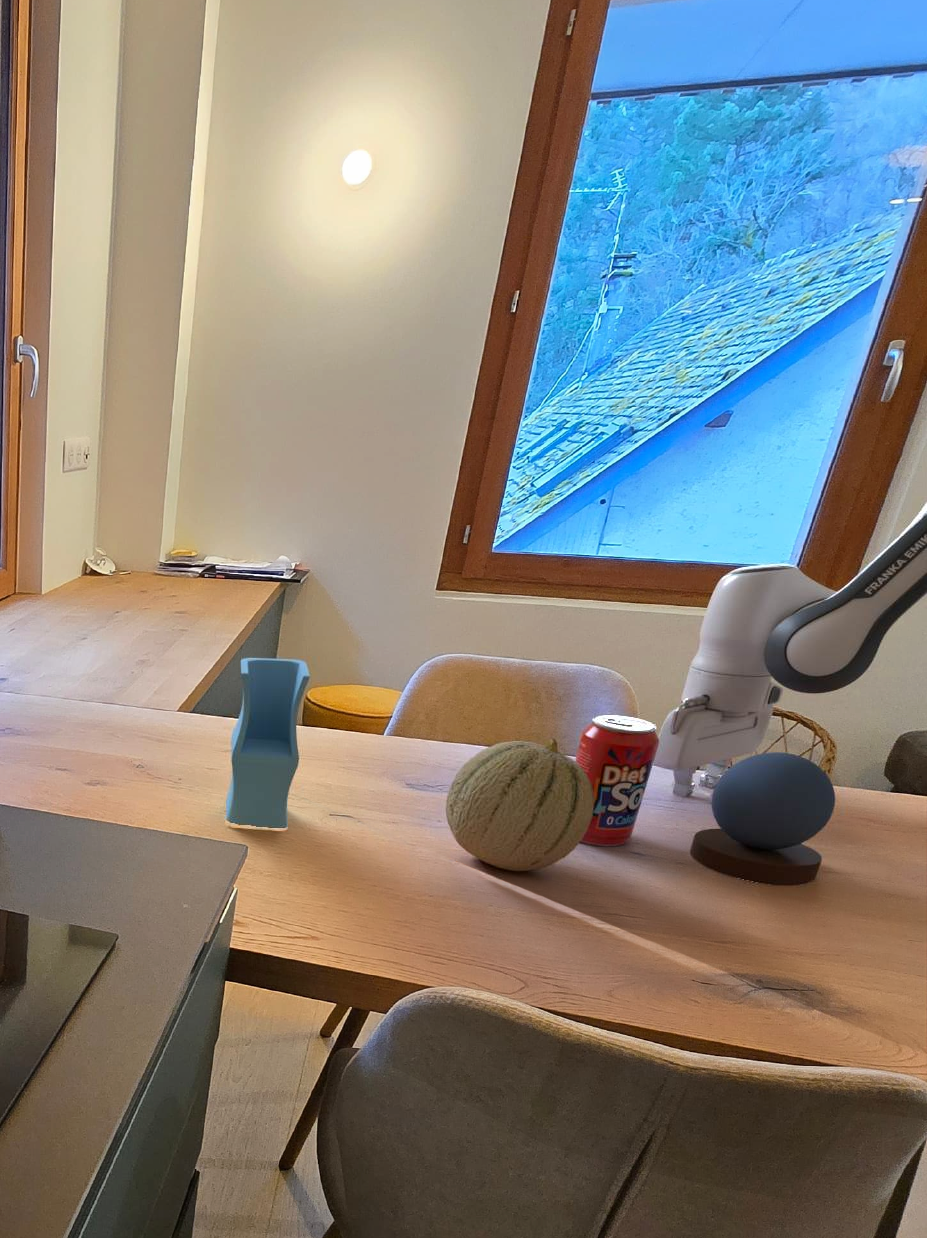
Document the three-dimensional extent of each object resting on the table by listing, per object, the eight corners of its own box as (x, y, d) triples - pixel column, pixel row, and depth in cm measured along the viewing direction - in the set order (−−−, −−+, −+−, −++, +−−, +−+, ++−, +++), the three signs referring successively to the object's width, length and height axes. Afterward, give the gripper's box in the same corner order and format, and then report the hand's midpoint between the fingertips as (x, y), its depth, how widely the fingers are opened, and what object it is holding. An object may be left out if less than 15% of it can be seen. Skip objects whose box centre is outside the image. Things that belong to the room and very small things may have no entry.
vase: (224, 827, 129) (241, 673, 121) (224, 804, 136) (240, 656, 128) (288, 832, 128) (310, 676, 119) (285, 809, 135) (305, 659, 126)
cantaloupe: (411, 860, 120) (435, 738, 113) (473, 828, 128) (499, 713, 121) (539, 905, 109) (574, 774, 103) (598, 867, 118) (634, 743, 111)
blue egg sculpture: (835, 874, 116) (877, 760, 111) (781, 894, 111) (822, 776, 106) (722, 841, 126) (755, 735, 121) (667, 858, 121) (699, 748, 116)
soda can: (563, 821, 131) (593, 708, 125) (633, 836, 127) (668, 720, 120) (549, 841, 126) (580, 724, 119) (622, 857, 121) (658, 737, 115)
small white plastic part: (692, 811, 137) (699, 789, 135) (664, 794, 142) (670, 774, 141) (718, 811, 137) (726, 789, 135) (690, 794, 142) (696, 773, 141)
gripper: (706, 705, 126) (675, 810, 132) (790, 688, 136) (758, 787, 141) (654, 695, 131) (626, 796, 137) (738, 679, 141) (710, 775, 146)
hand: (694, 792), depth 139 cm, fingers open, 5 cm apart
